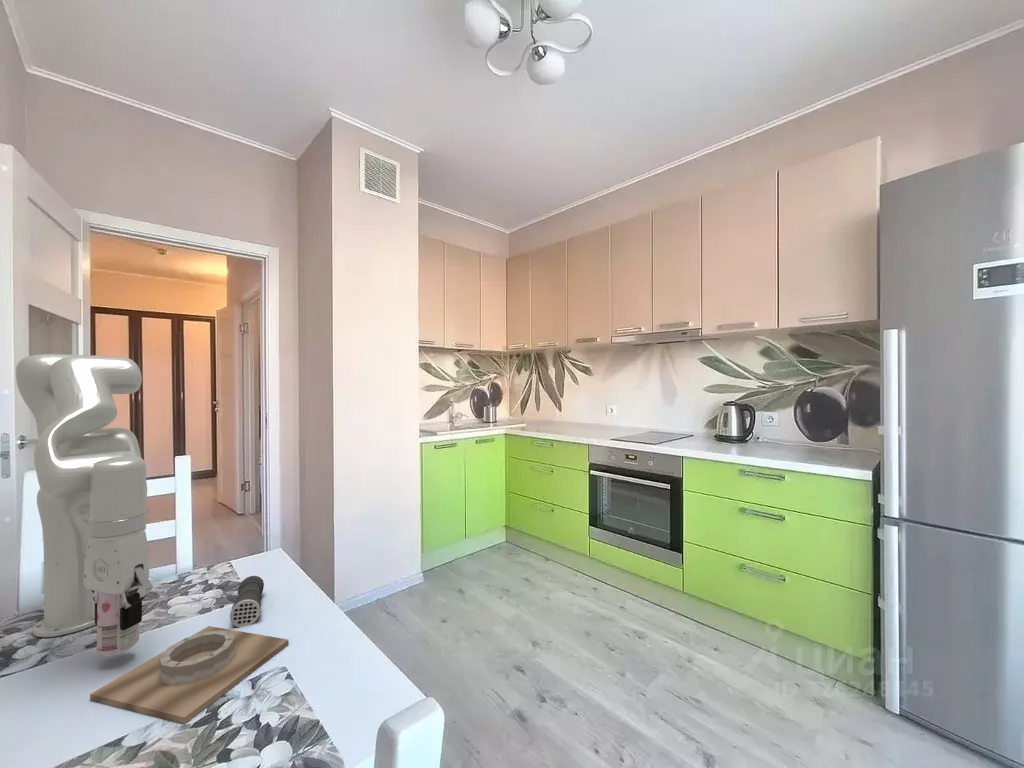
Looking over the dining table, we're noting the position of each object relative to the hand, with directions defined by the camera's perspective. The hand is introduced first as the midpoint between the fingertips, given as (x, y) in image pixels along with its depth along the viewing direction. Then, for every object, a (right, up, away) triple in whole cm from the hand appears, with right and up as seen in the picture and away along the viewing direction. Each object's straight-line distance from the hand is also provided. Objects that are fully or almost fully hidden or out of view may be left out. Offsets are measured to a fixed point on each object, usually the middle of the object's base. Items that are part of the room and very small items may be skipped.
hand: (118, 622), depth 78 cm
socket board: (+17, -7, -3) cm, 18 cm away
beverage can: (0, -5, 0) cm, 5 cm away
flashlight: (+13, -8, +18) cm, 23 cm away
